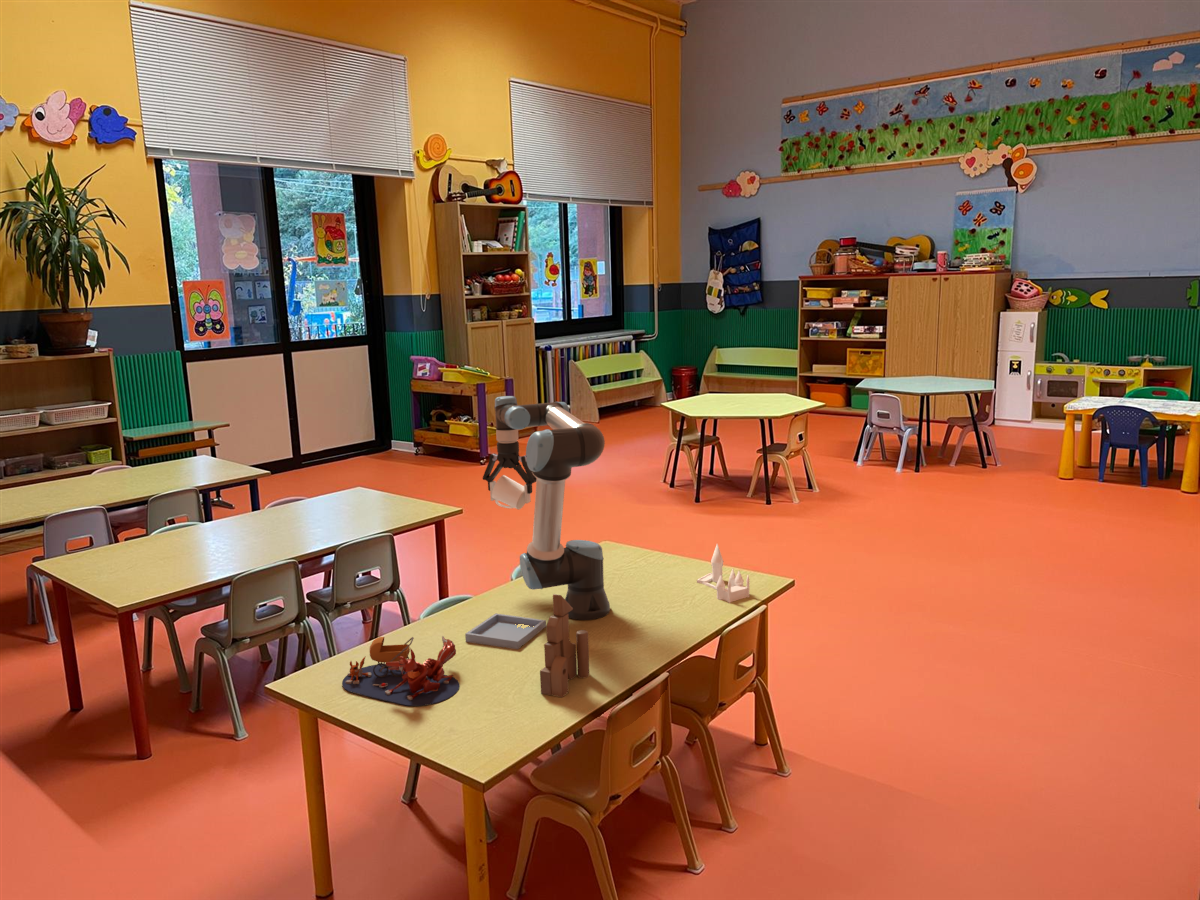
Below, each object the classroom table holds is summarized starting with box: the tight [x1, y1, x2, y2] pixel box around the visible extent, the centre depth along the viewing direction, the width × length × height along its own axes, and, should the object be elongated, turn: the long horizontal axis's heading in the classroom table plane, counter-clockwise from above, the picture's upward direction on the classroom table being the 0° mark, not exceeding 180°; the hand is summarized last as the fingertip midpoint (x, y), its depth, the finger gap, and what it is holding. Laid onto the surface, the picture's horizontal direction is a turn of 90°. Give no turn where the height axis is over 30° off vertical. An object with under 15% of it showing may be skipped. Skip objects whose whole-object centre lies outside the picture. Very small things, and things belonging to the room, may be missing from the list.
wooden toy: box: [539, 593, 590, 698], centre depth 235 cm, size 16×7×25 cm, turn 152°
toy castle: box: [696, 543, 751, 604], centre depth 301 cm, size 14×25×16 cm, turn 32°
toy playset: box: [341, 635, 460, 707], centre depth 243 cm, size 35×26×14 cm
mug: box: [492, 474, 526, 510], centre depth 309 cm, size 11×9×10 cm
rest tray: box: [464, 613, 547, 650], centre depth 272 cm, size 18×18×3 cm
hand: (510, 501), depth 309 cm, fingers closed on mug, 13 cm apart
